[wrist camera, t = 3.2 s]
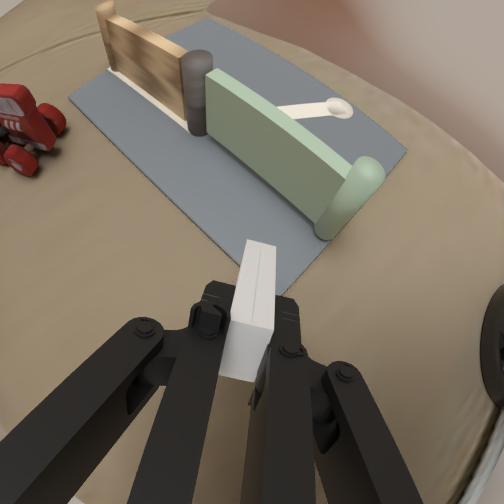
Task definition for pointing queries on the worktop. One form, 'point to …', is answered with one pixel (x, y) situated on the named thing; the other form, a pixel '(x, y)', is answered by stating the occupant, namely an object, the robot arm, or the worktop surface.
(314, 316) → the worktop surface
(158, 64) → the fixed fence panel
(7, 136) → the toy fire truck
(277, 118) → the hinged fence panel
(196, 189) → the card
